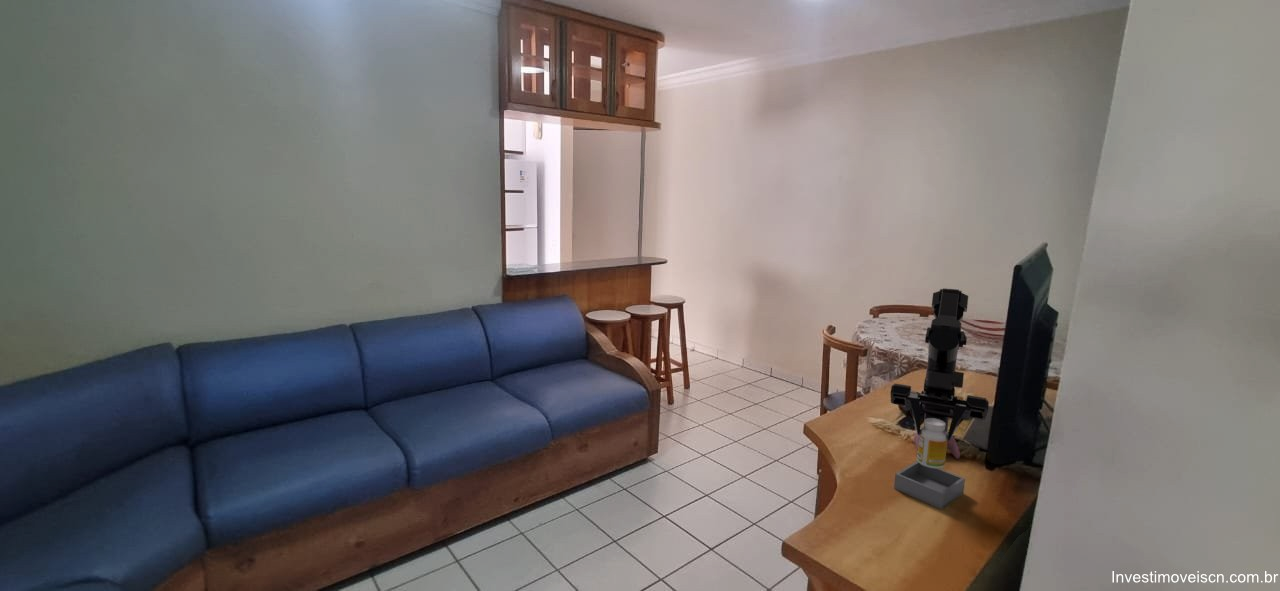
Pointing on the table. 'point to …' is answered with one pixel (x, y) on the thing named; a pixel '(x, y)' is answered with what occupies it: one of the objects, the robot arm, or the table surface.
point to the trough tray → (929, 484)
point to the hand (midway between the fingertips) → (933, 437)
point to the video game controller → (950, 444)
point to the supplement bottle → (932, 444)
